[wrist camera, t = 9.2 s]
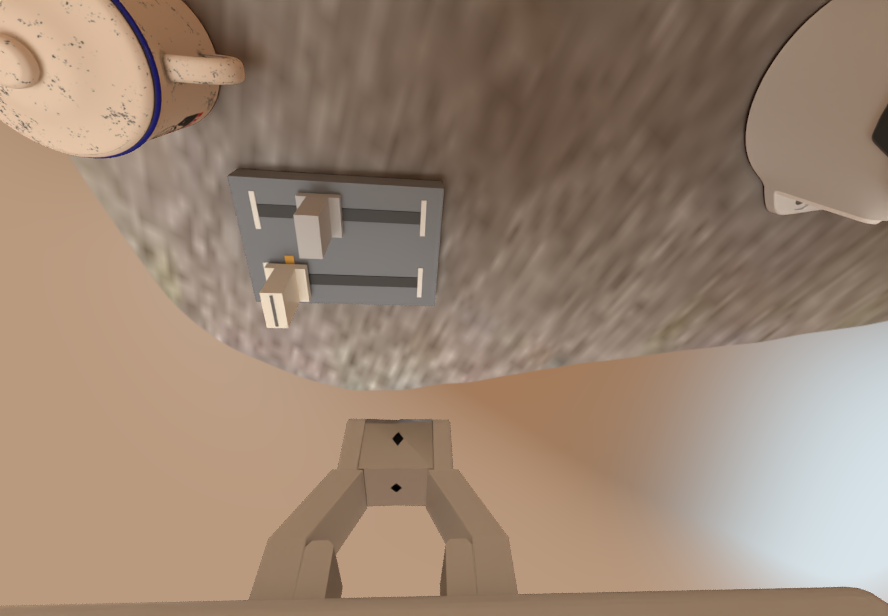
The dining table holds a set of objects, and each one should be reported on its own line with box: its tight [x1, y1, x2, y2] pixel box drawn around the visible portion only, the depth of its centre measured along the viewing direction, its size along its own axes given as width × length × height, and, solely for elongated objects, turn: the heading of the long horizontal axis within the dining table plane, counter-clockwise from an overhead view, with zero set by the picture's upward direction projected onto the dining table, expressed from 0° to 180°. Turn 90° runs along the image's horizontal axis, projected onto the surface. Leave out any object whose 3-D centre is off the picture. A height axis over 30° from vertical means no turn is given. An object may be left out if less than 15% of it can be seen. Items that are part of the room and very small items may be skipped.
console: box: [227, 169, 444, 306], centre depth 31 cm, size 16×11×7 cm
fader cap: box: [260, 263, 311, 328], centre depth 31 cm, size 3×3×5 cm
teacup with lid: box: [0, 0, 245, 158], centre depth 21 cm, size 12×9×12 cm
